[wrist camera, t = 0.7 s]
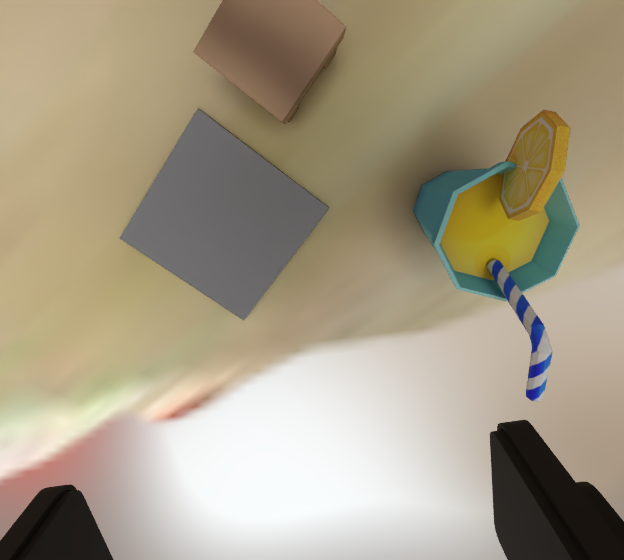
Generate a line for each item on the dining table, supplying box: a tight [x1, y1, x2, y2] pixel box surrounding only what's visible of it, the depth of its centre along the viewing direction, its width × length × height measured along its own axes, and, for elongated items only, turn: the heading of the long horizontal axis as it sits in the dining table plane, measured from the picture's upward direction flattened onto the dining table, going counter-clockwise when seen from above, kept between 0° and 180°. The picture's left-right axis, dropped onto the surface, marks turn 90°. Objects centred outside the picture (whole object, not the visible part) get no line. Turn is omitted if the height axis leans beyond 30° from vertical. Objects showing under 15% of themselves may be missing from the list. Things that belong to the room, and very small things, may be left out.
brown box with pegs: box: [193, 0, 346, 124], centre depth 25 cm, size 6×6×7 cm
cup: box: [413, 110, 580, 402], centre depth 25 cm, size 14×8×15 cm, turn 8°
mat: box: [120, 109, 329, 320], centre depth 32 cm, size 12×12×1 cm
